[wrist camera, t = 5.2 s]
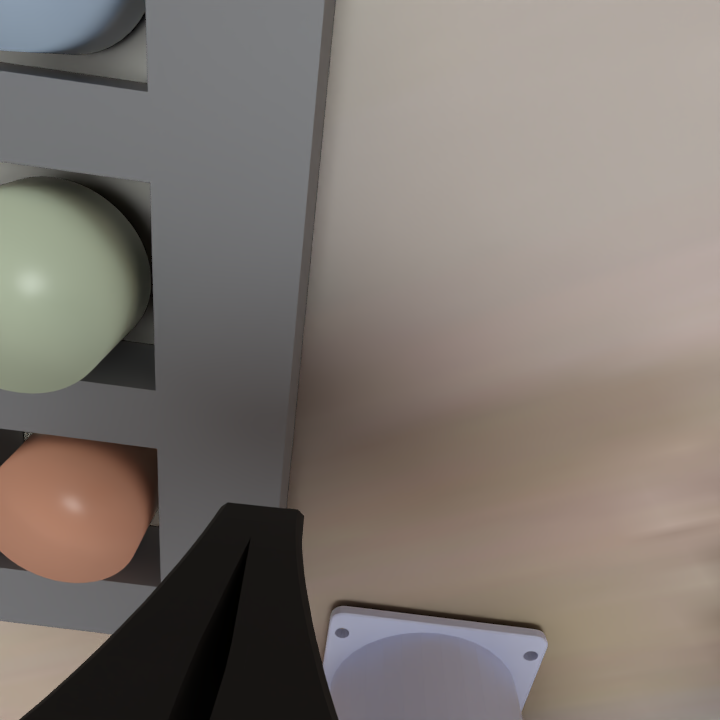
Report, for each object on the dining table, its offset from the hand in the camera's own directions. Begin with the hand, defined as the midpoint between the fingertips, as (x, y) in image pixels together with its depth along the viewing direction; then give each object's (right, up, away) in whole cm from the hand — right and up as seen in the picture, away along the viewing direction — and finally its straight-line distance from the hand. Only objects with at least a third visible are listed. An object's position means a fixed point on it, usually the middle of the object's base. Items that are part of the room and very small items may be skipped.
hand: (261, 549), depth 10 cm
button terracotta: (-7, 0, +8) cm, 11 cm away
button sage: (-6, +6, +4) cm, 9 cm away
